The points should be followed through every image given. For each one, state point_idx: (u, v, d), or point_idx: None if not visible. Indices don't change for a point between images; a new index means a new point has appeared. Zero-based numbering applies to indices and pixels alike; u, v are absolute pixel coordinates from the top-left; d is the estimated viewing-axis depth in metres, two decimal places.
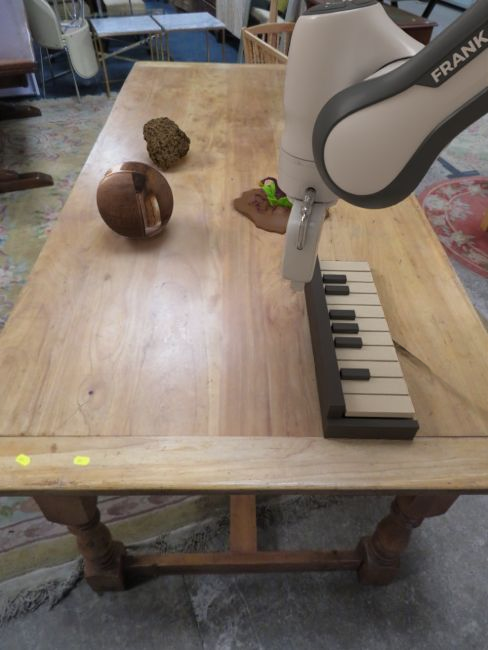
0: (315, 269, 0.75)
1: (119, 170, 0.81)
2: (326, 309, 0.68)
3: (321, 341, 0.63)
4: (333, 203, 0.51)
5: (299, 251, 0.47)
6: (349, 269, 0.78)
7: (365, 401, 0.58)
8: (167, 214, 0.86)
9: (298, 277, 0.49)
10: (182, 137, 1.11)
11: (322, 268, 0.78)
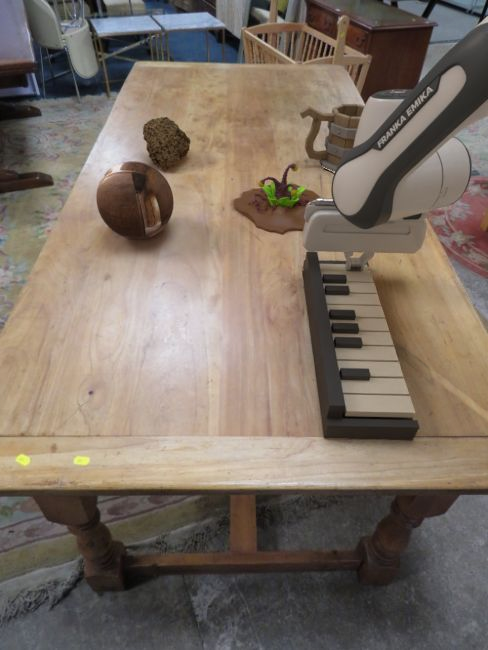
0: (315, 269, 0.75)
1: (119, 170, 0.81)
2: (326, 309, 0.68)
3: (321, 341, 0.63)
4: None
5: (306, 223, 0.73)
6: None
7: (365, 401, 0.58)
8: (167, 214, 0.86)
9: (302, 241, 0.75)
10: (182, 137, 1.11)
11: None
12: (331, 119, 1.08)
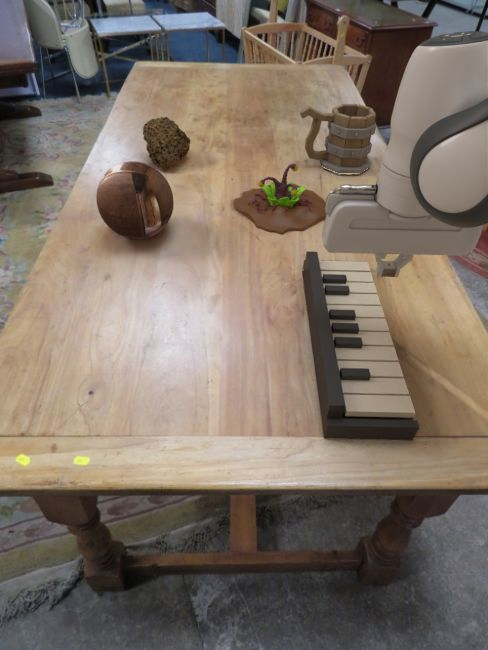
0: (315, 269, 0.75)
1: (119, 170, 0.81)
2: (326, 309, 0.68)
3: (321, 341, 0.63)
4: (397, 218, 0.54)
5: (328, 217, 0.57)
6: (349, 269, 0.78)
7: (365, 401, 0.58)
8: (167, 214, 0.86)
9: (323, 240, 0.59)
10: (182, 137, 1.11)
11: (322, 268, 0.78)
12: (331, 119, 1.08)
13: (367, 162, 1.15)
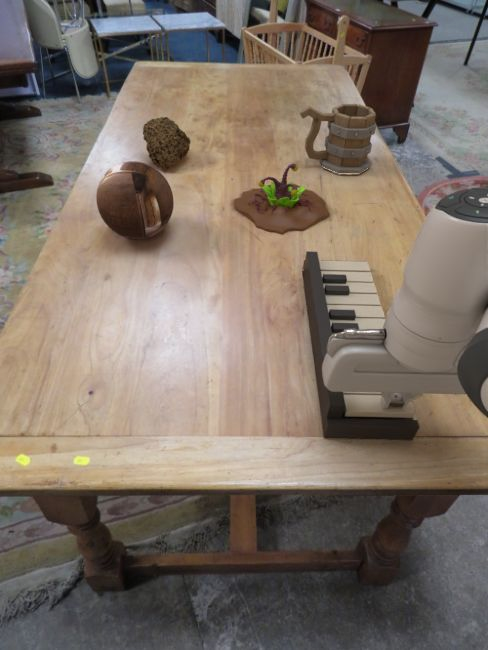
0: (315, 269, 0.75)
1: (119, 170, 0.81)
2: (326, 309, 0.68)
3: (321, 341, 0.63)
4: (409, 367, 0.48)
5: (330, 357, 0.51)
6: (349, 269, 0.78)
7: (365, 401, 0.58)
8: (167, 214, 0.86)
9: (323, 377, 0.53)
10: (182, 137, 1.11)
11: (322, 268, 0.78)
12: (331, 119, 1.08)
13: (367, 162, 1.15)
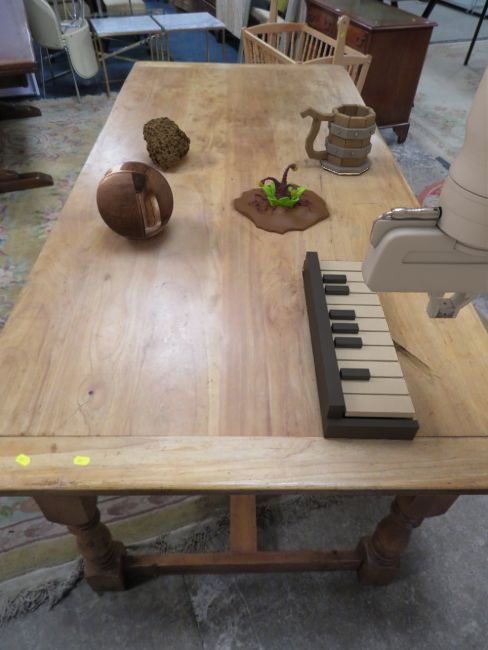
0: (315, 269, 0.75)
1: (119, 170, 0.81)
2: (326, 309, 0.68)
3: (321, 341, 0.63)
4: (468, 250, 0.41)
5: (373, 248, 0.44)
6: (349, 269, 0.78)
7: (365, 401, 0.58)
8: (167, 214, 0.86)
9: (364, 276, 0.46)
10: (182, 137, 1.11)
11: (322, 268, 0.78)
12: (331, 119, 1.08)
13: (367, 162, 1.15)
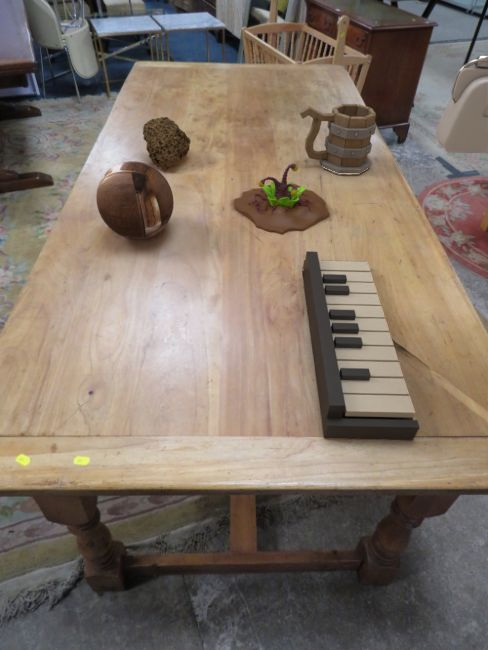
0: (315, 269, 0.75)
1: (119, 170, 0.81)
2: (326, 309, 0.68)
3: (321, 341, 0.63)
4: None
5: (453, 104, 0.46)
6: (349, 269, 0.78)
7: (365, 401, 0.58)
8: (167, 214, 0.86)
9: (441, 136, 0.48)
10: (182, 137, 1.11)
11: (322, 268, 0.78)
12: (331, 119, 1.08)
13: (367, 162, 1.15)
